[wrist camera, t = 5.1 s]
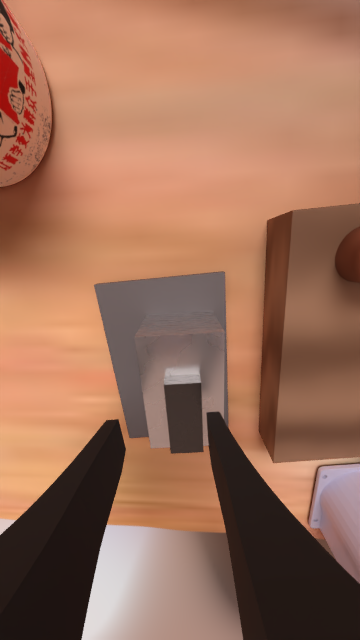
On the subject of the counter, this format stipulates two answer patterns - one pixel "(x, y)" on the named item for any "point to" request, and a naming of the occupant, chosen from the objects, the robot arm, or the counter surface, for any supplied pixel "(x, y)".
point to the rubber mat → (128, 314)
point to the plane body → (312, 335)
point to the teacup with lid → (21, 102)
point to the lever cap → (181, 377)
